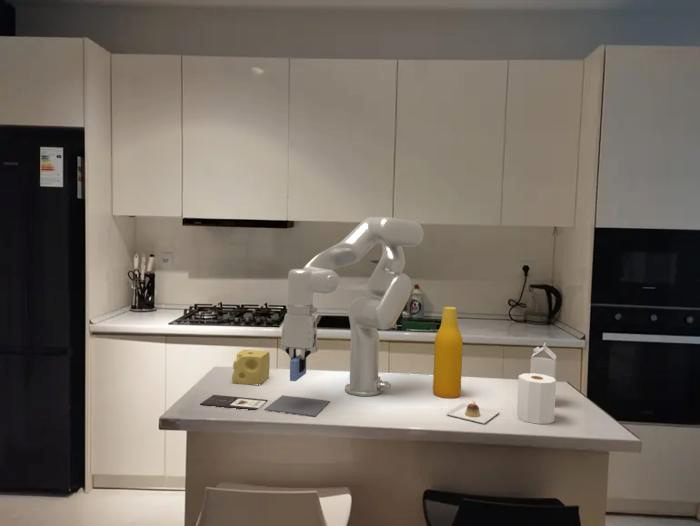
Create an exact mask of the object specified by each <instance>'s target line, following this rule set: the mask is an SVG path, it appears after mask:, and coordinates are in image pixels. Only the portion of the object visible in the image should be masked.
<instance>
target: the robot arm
mask: <svg viewBox="0 0 700 526" xmlns="http://www.w3.org/2000/svg"><path fill="white" fill-rule="evenodd" d="M424 233H425V232H424V229H423V227H422V225H421V224H420V223H418V222H417V221H414V220H408V219H401V218H396V217H391V216H390V217H389V216H388V217H387V216H370V217H367V218H364V219H363V220H362V221H361V222H360V223H359V224H358V225H357V226H356V227H355V228H354V229H353V230H352V231H350V232H349V234H348V235H347V236H345V238H343V239H342V240H341V241H340V242H338V243H336V244H335V245H332V246H330V247H329V248H327V249H326V250H323V251H322V252H320V253H318V254H317V255H315V256H314V257H313V258H312V259H311V260H310V261H308V263H306V264H305V266H304V267H303V268H294V269H290V270H289V272H288V274H287V275H288V276H287V277H288V278H287V304H286V305H287V306H286V308H287V310H286V311H287V312H286V313H285V314H284V318H283V322H282V328H281V343H280V346H279V349H280V350H282V351H284V352H285V353H286V354H287V355H288V357H289V358H290V361H291V360H292V359H294V358H295V357H297V356H298V355H297V350H298V349H300V354H301V357H300V358H301V359H300V361H299V372H300V373H301V372H302V371H304V369H305V367H306V368H307V357H309V355H311V354H314V353H317V352H318V351H319V350H318V349H319V348H318V345H317V344H318V329H317V320H316V315H315V314H314V313H317V311H318V308H317V307H315V306H314V293H318V294H319V293H320V294H332V293H333V292H335V291H336V290H338V288H339V285H340V277H339V274H337V272H336V271H334V270H336V269H339V268H343V267H346V266H350V265H354V264H356V263H358V262H359V261H361V260H362V259H363V258H364V256H365V255H366V254H368V252H369V251H371V249H373V247H374V246H375V245H376V244H381V246H382V247H381V249H382V255H381V257H380V260H379V262H378V263H377V265H376V267H375V269H374V271H373V272H372V273H371V276H370V277H369V279H368V282H367V284H366V289H367V292H368V294H370V296H372V297H370V296H359V297H355V298H354V299H353V300H351V302H350V303H349V307H348V320H349V324H350V325H349V326H350V357H349V383H347V384H346V385H345V386H344V391H345V392H346V393H347V394H350V395H354V396H358V397H359V396H360V397H371V396H377V395H380V394H381V393H383V389H385V390H390V389H391V386H392V385H391V383H390V382H389V381H387V380H385V381H384V380H381V376H379V367H380V365H379V361H380V360H379V359H380V335H379V331H378V330H381V331H382V330H383V331H385V330H389V329H391V328H392V327H393V326H394V325H395V324H396V323H397V321H398V319H399V317H400V316H401V314H402V312H403V310H404V308H405V306H406V305H407V302H408V300H409V299H410V296H411V294H412V289H413V288H412V287H413V286H412V281H411V279H410V277H409V276H408V274H406V273H404V272H403V270H404V269H405V265H406V257H405V253H404V250H403V247H407V248H413V247H416V246H418V245H420V244H421V243H422V241H423V239H424Z"/></svg>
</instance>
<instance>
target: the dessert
mask: <svg viewBox="0 0 700 526" xmlns="http://www.w3.org/2000/svg"><path fill="white" fill-rule="evenodd" d="M464 408H466V410H465V412H464V415H465V416H466V417H469V418H465V417H462V416H458V415H455V414H456V413H457V411H458V412H459V411H461V410H463V409H464ZM455 412H456V413H455ZM481 412H484V413H488V414H492V415H490V416H489V417H488V418H487V419H485V420H483V421H478V420H476V419H471V418H480V417H481V416H482V415H481ZM452 414H453V415H452ZM498 414H500V411H498V410H497V411H496V410H491V409H489V408H484V407H479V405H477V404H476V401H475V400H472V401H470V403H469V404H465V403H461V404H459V405H457V406H456V407H454V408H453V409H451V410H449V411H448V412H446V413H445V415H447V416H449V417H454V418H457V419H462V420H466V421H469V422H474V423H477V424H483V425H485V424H486V423H487V422H488V421H490V420H491V419H492V418H494V417H496V415H498Z"/></svg>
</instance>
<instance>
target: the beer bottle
mask: <svg viewBox="0 0 700 526" xmlns="http://www.w3.org/2000/svg"><path fill="white" fill-rule="evenodd" d="M458 324H459V323H458V312H457V307H453V306H444V307H443V309H442V317H441V323H440V326H439V329H438V331H437V332H436V334H435V338H434V347H433V348H434V354H433V380H432V393H433V395H434V396H436V397H440V398H443V399H456V398H459V397H461V393H462V371H463V370H462V369H463V368H462V367H463V362H462V361H463V349H464V348H463V345H464V342H463V336H462V333H461V332H460V329H459V325H458Z"/></svg>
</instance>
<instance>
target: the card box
mask: <svg viewBox="0 0 700 526" xmlns="http://www.w3.org/2000/svg"><path fill="white" fill-rule="evenodd" d="M300 357H301V353H300V354H299V355H297V357H295V358H294V359H292V360H291V359H290V361H289V381H290V382H297V381H298V380H300V379H301V378H302V377H303V376H304V375H306V374H307V366H306V367H305V369H304V371H302V372H301V373H300V372H299V361H300V359H301V358H300Z"/></svg>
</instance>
